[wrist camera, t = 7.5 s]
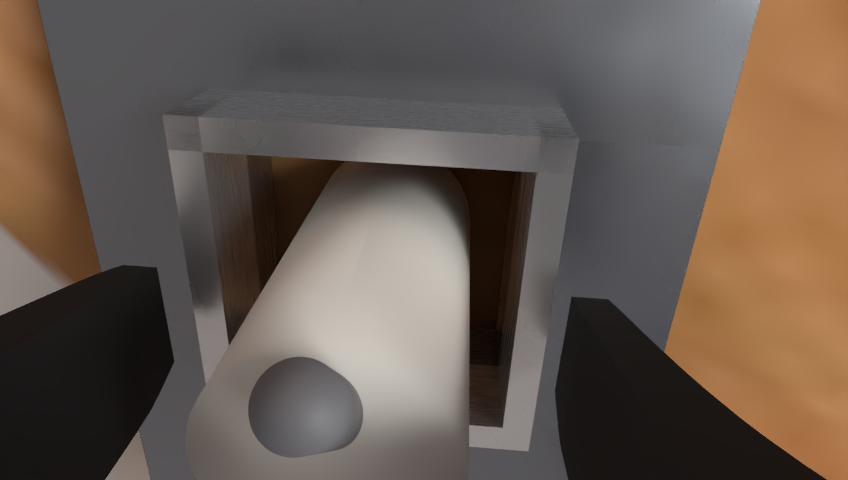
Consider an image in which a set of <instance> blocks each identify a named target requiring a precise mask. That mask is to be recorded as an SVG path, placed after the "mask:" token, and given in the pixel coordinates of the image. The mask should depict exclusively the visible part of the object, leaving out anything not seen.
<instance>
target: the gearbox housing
mask: <svg viewBox="0 0 848 480" xmlns="http://www.w3.org/2000/svg"><path fill="white" fill-rule="evenodd" d="M760 1H761V0H37V3H38V7H39V11H40V15H41V19H42V24H43V28H44V32H45V36H46V41H47V45H48V49H49V53H50V57H51V62H52V66H53V70H54V74H55V78H56V83H57V87H58V91H59V95H60V99H61V104H62V108H63V112H64V116H65V121H66V125H67V129H68V133H69V137H70V142H71V146H72V150H73V154H74V158H75V163H76V167H77V171H78V175H79V180H80V184H81V188H82V192H83V196H84V201H85V205H86V209H87V213H88V217H89V222H90V226H91V230H92V234H93V238H94V243H95V247H96V251H97V255H98V260H99V264H100V268H101V272H104V271H106V270H109V269H112V268H115V267H118V266H122V265H130V266H144V267H157V271H158V276H159V281H160V287H161V292H162V297H163V303H164V308H165V313H166V319H167V324H168V329H169V335H170V340H171V345H172V351H173V356H174V361H175V362H174V364H173V366H172V368H171V370H170V372H169V375H168V377H167V379H166V381H165V383H164V385H163V388H162V390H161V392H160V394H159V396H158V398H157V400H156V401H155V403H154V405H153V407H152V409H151V411H150V413H149V414H148V416H147V417H146V419H145V421H144V422H143V424H142V425H141V427H140V428H139V432H140V436H141V441H142V445H143V449H144V453H145V457H146V462H147V466H148V470H149V474H150V478H151V480H196V478H195V476H194V474H193V472H192V469H191V467H190V464H189V460H188V456H187V452H186V441H185V435H186V426H187V422H188V418H189V415H190V412H191V410H192V408H193V406H194V404H195V402H196V400H197V398H198V397H199V395H200V393H201V392H202V390H203V388H204V387H205V385H206V383H207V382H208V380H209V378H210V377H211V375H212V373H213V372H214V370H215V368H216V367H217V365H218V363H219V362H220V360H221V358H222V357H223V355H224V353H225V352H226V350H227V348H228V347H229V345H230V343H231V342H232V340H233V338H234V337H235V335H236V333H237V332H238V330H239V329H240V327H241V325H242V324H243V322H244V320H245V319H246V317H247V315H248V314H249V312H250V310H251V309H252V307H253V305H254V304H255V302H256V300H257V299H258V297H259V295H260V294H261V292H262V290H263V289H264V287H265V285H266V284H267V282H268V280H269V279H270V277H271V275H272V274H273V272H274V270H275V269H276V267H277V265H278V264H279V250H278V238H277V225H276V213H275V201H274V188H273V176H272V163H271V156H276V157H292V158H309V159H325V160H341V161H358V162H374V163H391V164H407V165H423V166H440V167H456V168H473V169H489V170H505V171H514V176H513V185H512V194H511V203H510V211H509V220H508V229H507V238H506V246H505V255H504V264H503V273H502V281H501V290H500V299H499V307H498V316H497V325H496V330H495V329H481V328H470V357H469V478H468V480H568V477H567V473H566V468H565V464H564V460H563V455H562V451H561V446H560V439H559V430H558V421H557V411H556V400H555V386H556V381H557V375H558V369H559V364H560V358H561V353H562V347H563V341H564V336H565V330H566V325H567V319H568V313H569V308H570V302H571V297H584V298H599V299H608V300H610V301H611V302H612V303H613V304H614V305H615V306H616V307H617V308H618V309H619V310H621V311H622V312H623V313H624V314H625V315H626V316H627V317H628V318H629V319H630V320H631V321H632V322H633V323H634V324H635V325H636V326H637V327H638V328H639V329H640V330H641V331H642V332H643V333H644V334H645V335H646V336H647V337H648V338H649V339H651V340H652V341H653V342H654V343H655V344H656V345H657V346H658V347H659V348H660V349H661V350H662V351H663V352H664V350H665V346H666V342H667V339H668V335H669V331H670V328H671V324H672V320H673V317H674V313H675V310H676V306H677V302H678V299H679V295H680V291H681V288H682V284H683V281H684V277H685V273H686V270H687V266H688V262H689V259H690V255H691V251H692V248H693V244H694V241H695V237H696V233H697V230H698V226H699V222H700V219H701V215H702V211H703V208H704V204H705V201H706V197H707V193H708V190H709V186H710V182H711V179H712V175H713V172H714V168H715V164H716V161H717V157H718V153H719V150H720V146H721V142H722V139H723V135H724V132H725V128H726V124H727V121H728V117H729V113H730V110H731V106H732V103H733V99H734V95H735V92H736V88H737V84H738V81H739V77H740V73H741V70H742V66H743V63H744V59H745V55H746V52H747V48H748V44H749V41H750V37H751V33H752V30H753V26H754V23H755V19H756V15H757V12H758V8H759V4H760Z"/></svg>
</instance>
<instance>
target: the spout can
mask: <svg viewBox="0 0 848 480" xmlns="http://www.w3.org/2000/svg"><path fill="white" fill-rule="evenodd" d="M469 357H470V211H469V205H468V201H467V198H466V195H465V193H464V190H463V188H462V187H461V185H460V183H459V181H458V180H457V179H456V177H455V176H454V175H453V174H452V173H451V172H450V171H449V170H448V169H447V168H446V167H440V166H423V165H407V164H391V163H374V162H358V161H345V162H344V163H343V164H342V165H341V166H340V167H339V168H338V169H337V170H336V171H335V172H334V173H333V175H332V176H331V177H330V179H329V181H328V182H327V184H326V186H325V187H324V189H323V191H322V192H321V194H320V196H319V197H318V199H317V201H316V202H315V204H314V206H313V207H312V209H311V211H310V212H309V214H308V215H307V217H306V219H305V220H304V222H303V224H302V225H301V227H300V229H299V230H298V232H297V234H296V235H295V237H294V239H293V240H292V242H291V244H290V245H289V247H288V249H287V250H286V252H285V254H284V255H283V257H282V259H281V260H280V262H279V264H278V265H277V267H276V269H275V270H274V272H273V274H272V275H271V277H270V279H269V280H268V282H267V284H266V285H265V287H264V289H263V290H262V292H261V294H260V295H259V297H258V299H257V300H256V302H255V304H254V305H253V307H252V309H251V310H250V312H249V314H248V315H247V317H246V319H245V320H244V322H243V324H242V325H241V327H240V329H239V330H238V332H237V333H236V335H235V337H234V338H233V340H232V342H231V343H230V345H229V347H228V348H227V350H226V352H225V353H224V355H223V357H222V358H221V360H220V362H219V363H218V365H217V367H216V368H215V370H214V372H213V373H212V375H211V377H210V378H209V380H208V382H207V383H206V385H205V387H204V388H203V390H202V392H201V393H200V395H199V397H198V398H197V400H196V402H195V404H194V406H193V408H192V410H191V412H190V415H189V418H188V422H187V426H186V435H185V441H186V452H187V456H188V460H189V464H190V467H191V469H192V472H193V474H194V476H195V478H196V480H468V478H469Z"/></svg>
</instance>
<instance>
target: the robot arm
mask: <svg viewBox="0 0 848 480" xmlns="http://www.w3.org/2000/svg"><path fill="white" fill-rule="evenodd" d="M174 362H175V361H174V356H173V351H172V345H171V340H170V335H169V329H168V324H167V319H166V313H165V308H164V303H163V297H162V292H161V287H160V281H159V276H158V271H157V267H144V266H130V265H122V266H118V267H115V268H112V269H109V270H106V271H104V272H101V273H98V274H96V275H93V276H91V277H88V278H86V279H84V280H81V281H79V282H77V283H74V284H72V285H69V286H67V287H65V288H63V289H60V290H58V291H56V292H53V293H51V294H49V295H47V296H45V297H42V298H40V299H38V300H35V301H33V302H31V303H29V304H26V305H24V306H22V307H19V308H17V309H15V310H12V311H10V312H8V313H6V314H4V315H1V316H0V480H105V479H106V477H107V476H108V474H109V473H110V471H111V470H112V468H113V467H114V465H115V464H116V463H117V461H118V459H119V458H120V457H121V455H122V454H123V452H124V451H125V449H126V448H127V446H128V445H129V443H130V442H131V440H132V439H133V437H134V436H135V434H136V433H137V431H138V430H139V428H140V427H141V425H142V424H143V422H144V421H145V419H146V417H147V416H148V414H149V413H150V411H151V409H152V407H153V405H154V403H155V401H156V400H157V398H158V396H159V394H160V392H161V390H162V388H163V385H164V383H165V381H166V379H167V377H168V375H169V372H170V370H171V368H172V366H173V364H174ZM555 400H556V411H557V421H558V430H559V439H560V446H561V451H562V455H563V460H564V464H565V468H566V473H567V477H568V480H826V479H825V478H823V477H822V476H820V475H819V474H817V473H816V472H814V471H813V470H811V469H810V468H808V467H807V466H805V465H804V464H802V463H801V462H800V461H798V460H797V459H795V458H794V457H793V456H791V455H790V454H788V453H787V452H786V451H784V450H783V449H781V448H780V447H779V446H777V445H776V444H774V443H773V442H772V441H770V440H769V439H767V438H766V437H764V436H763V435H762V434H760V433H759V432H758V431H756V430H755V429H754V428H752V427H751V426H750V425H749V424H747V423H746V422H745V421H743V420H742V419H741V418H739V417H738V416H737V415H736V414H735V413H733V412H732V411H731V410H730V409H728V408H727V407H726V406H725V405H724V404H722V403H721V402H720V401H719V400H718V399H716V398H715V397H714V396H713V395H711V394H710V393H709V392H708V391H707V390H705V389H704V388H703V387H702V386H701V385H700V384H699V383H697V382H696V381H695V380H694V379H693V378H692V377H690V376H689V375H688V374H687V373H686V372H685V371H684V370H683V369H682V368H680V367H679V366H678V365H677V364H676V363H675V362H674V361H673V360H672V359H671V358H670V357H668V356H667V355H666V354H665V353H664V352H663V351H662V350H661V349H660V348H659V347H658V346H657V345H656V344H655V343H654V342H653V341H652V340H651V339H649V338H648V337H647V336H646V335H645V334H644V333H643V332H642V331H641V330H640V329H639V328H638V327H637V326H636V325H635V324H634V323H633V322H632V321H631V320H630V319H629V318H628V317H627V316H626V315H625V314H624V313H623V312H622V311H621V310H619V309H618V308H617V307H616V306H615V305H614V304H613V303H612V302H611V301H610V300H608V299H599V298H584V297H571V302H570V308H569V313H568V319H567V325H566V330H565V336H564V341H563V347H562V353H561V358H560V364H559V369H558V375H557V381H556V386H555Z"/></svg>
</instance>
